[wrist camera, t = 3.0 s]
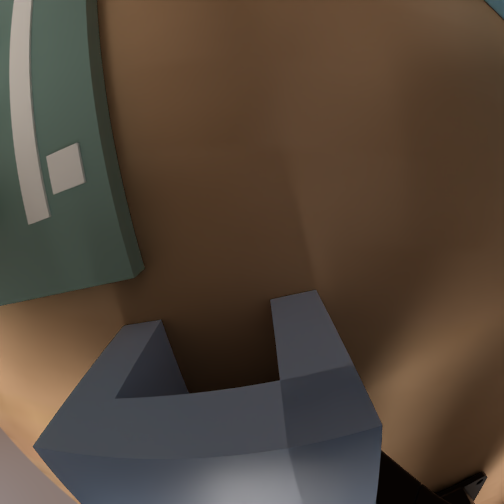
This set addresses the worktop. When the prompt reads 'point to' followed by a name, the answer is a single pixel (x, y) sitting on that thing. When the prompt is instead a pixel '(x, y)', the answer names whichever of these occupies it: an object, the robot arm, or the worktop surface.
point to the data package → (497, 6)
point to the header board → (58, 156)
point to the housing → (220, 424)
